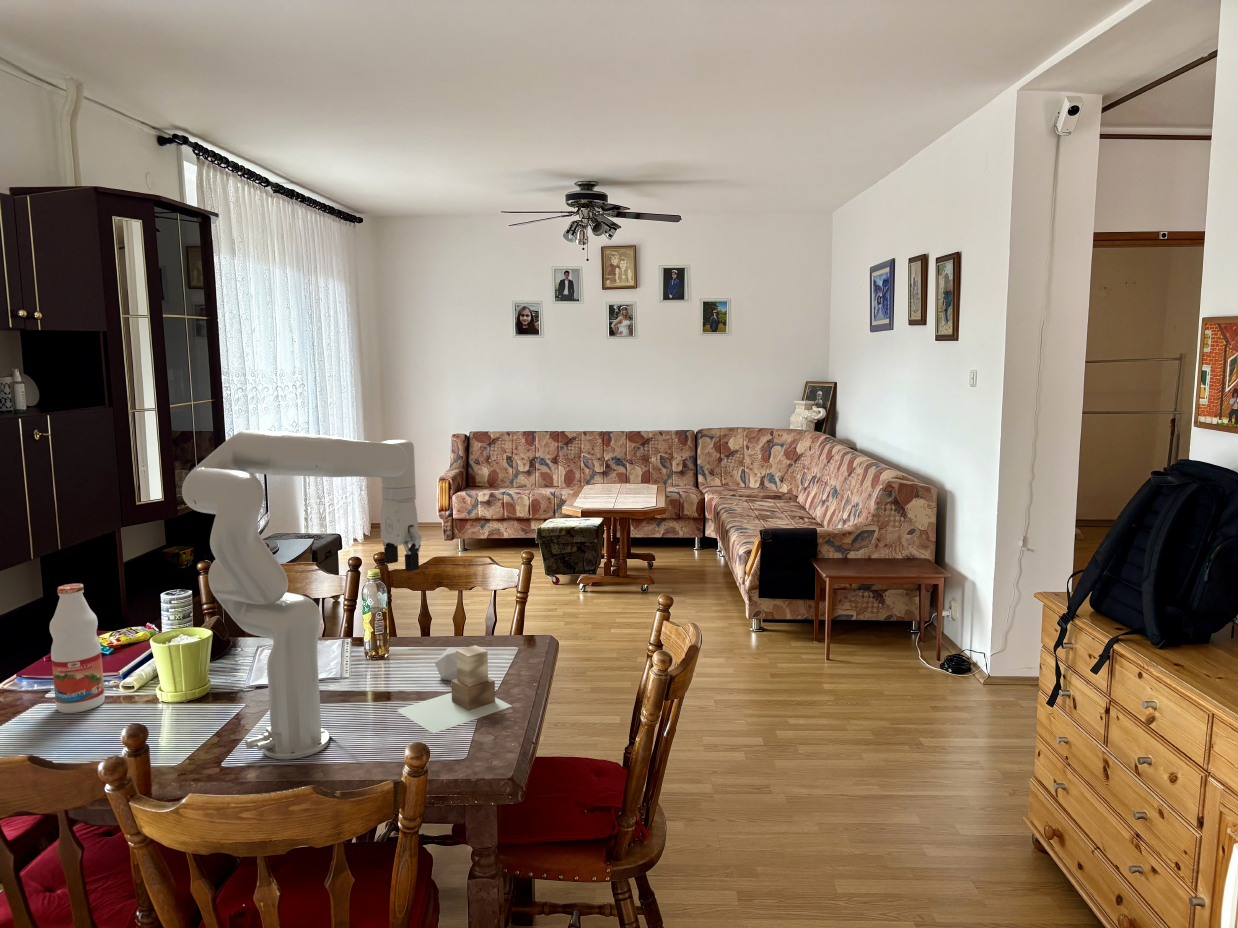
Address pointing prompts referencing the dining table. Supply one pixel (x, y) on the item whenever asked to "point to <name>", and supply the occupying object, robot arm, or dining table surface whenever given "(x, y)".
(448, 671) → the die
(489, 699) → the walnut block
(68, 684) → the fruit juice
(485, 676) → the maple block
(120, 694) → the dining table surface
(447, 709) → the build board
